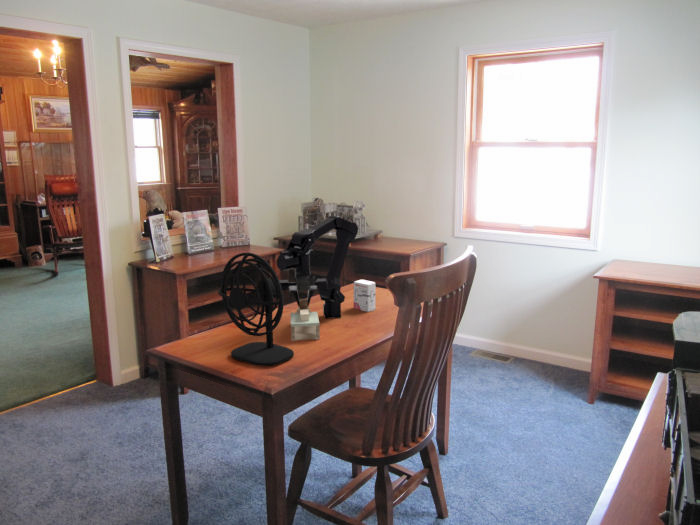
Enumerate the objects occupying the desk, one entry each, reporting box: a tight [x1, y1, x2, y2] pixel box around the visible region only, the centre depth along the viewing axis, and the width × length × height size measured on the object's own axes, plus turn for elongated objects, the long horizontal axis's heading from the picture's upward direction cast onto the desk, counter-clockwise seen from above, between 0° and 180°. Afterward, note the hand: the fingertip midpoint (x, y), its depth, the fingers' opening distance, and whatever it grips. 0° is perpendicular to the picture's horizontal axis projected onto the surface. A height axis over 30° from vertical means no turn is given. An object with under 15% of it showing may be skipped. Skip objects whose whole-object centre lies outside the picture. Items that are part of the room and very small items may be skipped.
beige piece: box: [290, 306, 321, 341], centre depth 207 cm, size 10×20×6 cm, turn 7°
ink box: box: [353, 279, 376, 313], centre depth 234 cm, size 9×5×12 cm, turn 47°
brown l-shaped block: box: [298, 298, 309, 310], centre depth 211 cm, size 3×7×4 cm, turn 7°
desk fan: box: [217, 252, 295, 367], centre depth 179 cm, size 27×18×35 cm, turn 54°
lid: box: [290, 309, 320, 328], centre depth 204 cm, size 10×14×4 cm
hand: (303, 306), depth 213 cm, fingers closed on brown l-shaped block, 3 cm apart
